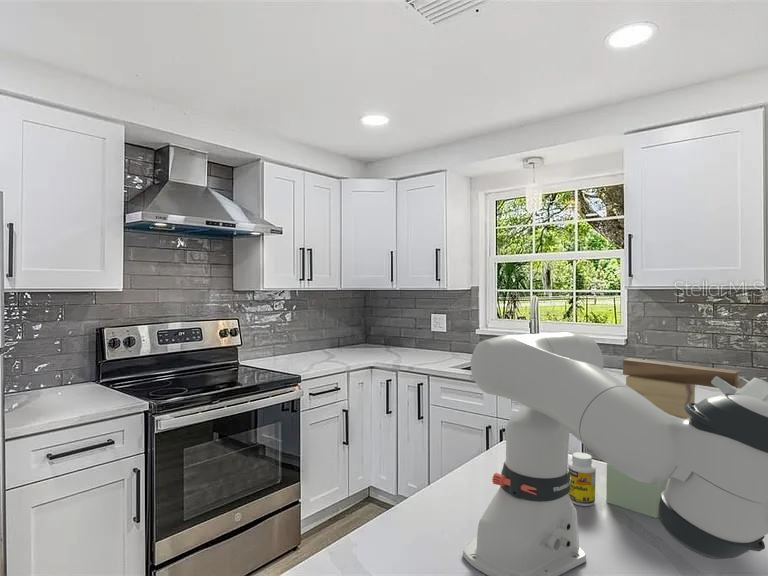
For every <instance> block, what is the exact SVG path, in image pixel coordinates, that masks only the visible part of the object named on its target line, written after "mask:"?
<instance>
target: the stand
mask: <svg viewBox="0 0 768 576" xmlns="http://www.w3.org/2000/svg"><path fill="white" fill-rule="evenodd" d="M625 385H627V386H628V387H630V388H632V389H633V390H635V391H636V392H638V393H639V394H640V395H642V396H643V397H645V398H646V399H647V400H649V401H650V402H651V403H653V404H654V405H655V406H657V407H658V408H660V409H661V410H663V411H664V412H666V413H668V414H670V415H672V416H675V417H679V418H683V419H688V418H691V417H692V416H690V415H689V414H688V413H687V412H686V410H685V409H684V407H685V405H687V404H688V403H690V402H692V403H695V397H696V396H695V395H696V393H695V390H696V385H694V384H687V383H679V382H672V381H665V380H658V379H651V378H644V377H637V376H630V375H626V376H625ZM667 481H668V480H667Z"/></svg>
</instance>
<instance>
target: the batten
mask: <svg viewBox="0 0 768 576" xmlns="http://www.w3.org/2000/svg"><path fill="white" fill-rule="evenodd" d="M739 373H740V371H739V370H734V369H727V368H726V369H724V368H717V367H707V366H702V365H701V366H699V365H692V364H691V365H689V364H682V363H673V362H665V361H657V360H649V359H641V358H634V357H633V358H631V357H628V358H625V359H624V358H623V359H622V375H625V376H629V375H630V376H637V377H644V378H651V379H658V380H665V381H672V382H679V383H687V384H694V385H695V386H701V387H708V388H715V389H718V388H717V387H716V386H714V385H713V384H712V383H711V381H712V380H713V378H714V377H716V376H719V377H721V378H722V379H724V380H726V382H727V383H728V384H730V385H731V386H734V387H736V388H737V389H739V388H738V383H739V377H740V376H739V375H740V374H739Z"/></svg>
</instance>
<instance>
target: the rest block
mask: <svg viewBox="0 0 768 576" xmlns="http://www.w3.org/2000/svg"><path fill="white" fill-rule="evenodd" d="M666 485H667V480H666V481H664V482H661V483H656V484H647V483H642V482H639V481H636V480H634V479H633V478H631V477H629V476H627V475H625V474H624V473H622V472H620V471H619V470H617V469H615V468H614V467H612V466H611V465H609V464H608V463H606V496H605V497H606V500H605V503H608V504H610V505H614V506H617V507H619V508H620V507H621V508H623V509H626V510H629V511H632V512H636V513H639V514H641V515H644V516H647V517H651V518H655V519H657V518H659V517H658V508H659V501H660V496H661V493H662V491H664V490H665V489H666Z"/></svg>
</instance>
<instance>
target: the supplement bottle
mask: <svg viewBox="0 0 768 576" xmlns="http://www.w3.org/2000/svg"><path fill="white" fill-rule="evenodd" d="M571 455H572V457H571V460H572V461H569V462H568V468H569V470H570V477H571V483H570V491H569V496H570V499H571V501H572V503H573V505H577V506H581V507H590V506H593V505H594V504H595V502H596V472H597V471H596V466H595V464H593V456H592V455H591V454H589V453H586V452H574V453H572V454H571Z"/></svg>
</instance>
